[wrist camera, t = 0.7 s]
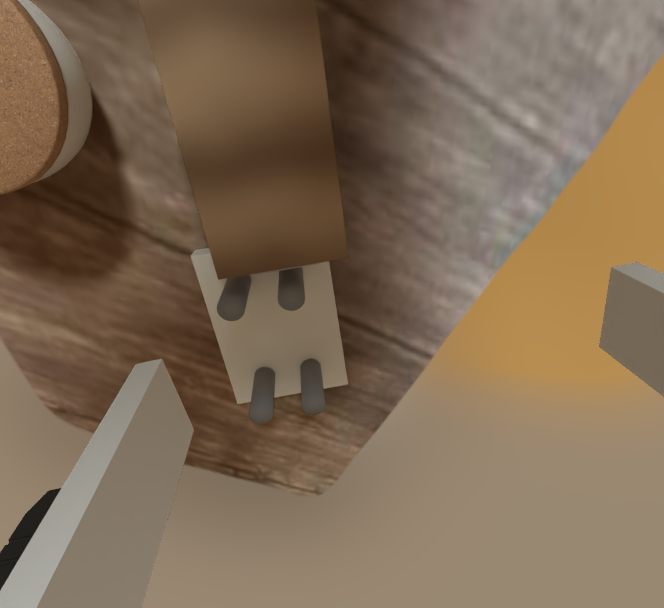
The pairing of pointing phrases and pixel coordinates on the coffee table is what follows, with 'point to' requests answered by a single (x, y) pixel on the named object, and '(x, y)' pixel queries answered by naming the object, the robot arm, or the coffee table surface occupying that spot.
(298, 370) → the peg stand
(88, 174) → the coffee table surface
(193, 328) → the coffee table surface
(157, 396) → the robot arm
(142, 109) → the coffee table surface
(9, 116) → the lidded jar
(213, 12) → the board
